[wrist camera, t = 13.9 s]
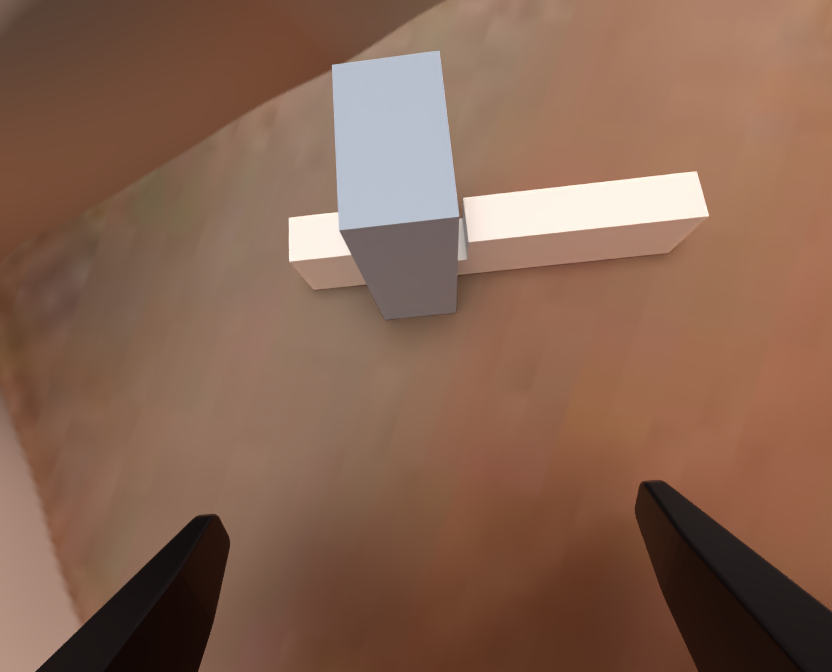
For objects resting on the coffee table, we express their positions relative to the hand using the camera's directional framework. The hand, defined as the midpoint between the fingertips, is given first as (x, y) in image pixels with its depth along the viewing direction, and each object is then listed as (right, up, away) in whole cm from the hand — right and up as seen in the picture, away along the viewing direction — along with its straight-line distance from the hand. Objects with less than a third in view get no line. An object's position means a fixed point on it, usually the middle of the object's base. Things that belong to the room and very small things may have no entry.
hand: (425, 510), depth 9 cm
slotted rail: (+4, +8, +16) cm, 19 cm away
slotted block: (0, +8, +16) cm, 18 cm away
